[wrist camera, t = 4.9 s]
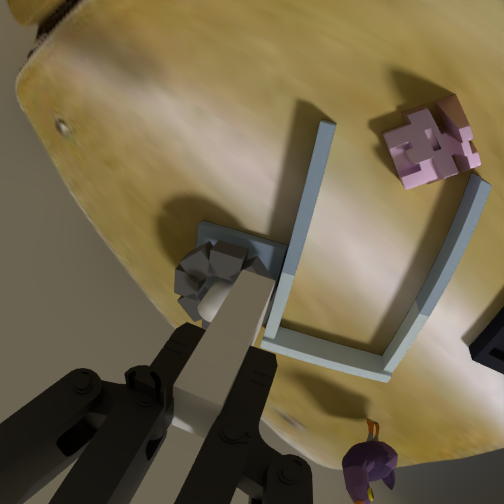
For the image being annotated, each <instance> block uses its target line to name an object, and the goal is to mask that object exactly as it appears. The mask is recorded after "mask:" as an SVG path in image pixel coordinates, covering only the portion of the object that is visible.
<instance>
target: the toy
mask: <svg viewBox="0 0 504 504" xmlns="http://www.w3.org/2000/svg"><path fill="white" fill-rule="evenodd" d="M366 422H367V424H368V427H369V435H368V438H367V441H366V442H363V443H358V444H356V445H354V446H353V447H351V448H350V449H349V451H348V452H347V453H346V455H345V456H344V457H343V460H342V467H343V473H344V479H345V484H346V489H347V491H348V493H349V495H350V498H351V499H352V501H353V502H354V504H369V503H370V502H371V501H372V500H373V498H374V497H373V493H372V489H371V488H370V487H369V481H376V480H379V479H381V478H382V480H383V481H384V483H385V484H386V485H387V486H388V487H389V488H390V489H391V490H392V489H393V487H394V484H395V474H394V469H395V467H396V465H397V459H398V454H397V453H396V451H395V450H394V449H393V448H392V447H390V446H389V445H387V444H386V443H384V442H380V441H378V434H379V425H377V424H375V426H376V435H375V437H374V439H373V427H374V424H373V423H372V422H370V421H369V420H367V421H366Z"/></svg>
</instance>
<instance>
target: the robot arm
mask: <svg viewBox="0 0 504 504" xmlns="http://www.w3.org/2000/svg"><path fill="white" fill-rule="evenodd" d="M274 284H275V280H272V279H269V278H266V277H263V276H260V275H257V274H255V273H252V272H249V271H246V270H242V271H241V273H240V275H239V276H238V278H237V280H236V281H235V283H234V285H233V287H232V288H231V290H230V292H229V293H228V295H227V297H226V298H225V300H224V302H223V303H222V305H221V307H220V308H219V310H218V312H217V313H216V315H215V317H214V318H213V320H212V322H211V323H210V325H209V327H208V328H207V330H205V329H203V328H200V327H198V326H195V325H193V324H190V323H188V322H186V323H185V324H183V325H181V326H180V327H178V328H176V330H175V331H174V333H173V334H172V335H171V337H170V338H169V340H168V341H167V342H166V344H165V345H164V347H163V348H162V349H161V351H160V352H159V354H158V355H157V357H156V358H155V359H154V361H153V362H152V364H151V365H150V366H147V365H139V366H135V367H132V368H130V369H129V370H128V371H127V372H125V379H126V384H117V383H112V382H108V381H103V380H101V379H100V377H99V376H98V375H97V373H95V372H94V371H92V370H90V369H86V368H80V369H75V370H73V371H71V372H70V373H68V374H67V375H65V376H64V377H63V378H61V379H60V380H59V381H57V382H56V383H55V384H53V385H52V386H50V387H49V388H48V389H46V390H45V391H44V392H42V393H41V394H40V395H38V396H37V397H36V398H34V399H33V400H32V401H30V402H29V403H27V404H26V405H25V406H23V407H22V408H21V409H20V410H18V411H17V412H15V413H14V414H13V415H11V416H10V417H9V418H7V419H6V420H5V421H3V422H2V423H1V424H0V504H23V503H24V502H25V501H27V500H28V499H29V498H30V497H32V496H33V495H34V494H35V493H37V492H38V491H39V490H40V489H41V488H43V487H44V486H45V485H46V484H48V483H49V482H50V481H51V480H53V479H54V478H55V477H56V476H57V475H58V474H60V473H61V472H62V471H63V470H64V469H66V468H67V467H68V466H69V465H70V464H71V463H73V462H74V461H75V460H76V459H77V458H78V460H77V462H76V463H75V464H74V466H73V467H72V469H71V470H70V472H69V473H68V475H67V476H66V478H65V479H64V481H63V482H62V484H61V485H60V487H59V488H58V490H57V491H56V493H55V494H54V496H53V497H52V499H51V500H50V502H49V504H129V503H130V501H131V499H132V498H133V496H134V494H135V493H136V491H137V489H138V487H139V485H140V484H141V482H142V480H143V478H144V476H145V475H146V473H147V471H148V469H149V467H150V465H151V464H152V462H153V460H154V458H155V456H156V455H157V453H158V451H159V449H160V447H161V446H162V444H163V442H164V440H165V438H166V435H167V429H168V427H169V425H170V423H171V422H172V420H173V425H175V426H177V427H179V428H182V429H184V430H186V431H188V432H191V433H194V434H196V435H198V436H201V437H203V438H206V439H205V441H204V443H203V445H202V447H201V449H200V451H199V454H198V455H197V458H196V460H195V462H194V464H193V466H192V468H191V470H190V472H189V474H188V476H187V478H186V480H185V483H184V484H183V486H182V488H181V491H180V493H179V495H178V497H177V499H176V501H175V503H174V504H230V502H231V500H232V497H233V495H234V492H235V490H236V487H237V488H239V489H240V490H242V491H243V492H245V493H246V494H247V495H249V504H313V486H312V472H311V468H310V466H309V465H308V464H307V462H306V461H305V460H304V459H302V458H300V457H299V456H296V455H291V454H287V455H282V454H280V453H279V452H277V451H276V450H274V449H273V448H271V447H270V446H268V445H267V444H266V443H265V442H264V440H263V439H262V438H261V435H260V433H259V427H258V426H259V421H260V418H261V415H262V412H263V409H264V406H265V403H266V400H267V397H268V394H269V391H270V388H271V385H272V382H273V379H274V376H275V373H276V370H277V360H276V355H275V354H273V353H270V352H267V351H264V350H262V349H259V348H256V347H253V345H254V342H255V340H256V338H257V335H258V333H259V330H260V328H261V325H262V322H263V319H264V316H265V313H266V310H267V307H268V303H269V300H270V297H271V294H272V291H273V288H274Z"/></svg>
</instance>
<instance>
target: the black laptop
mask: <svg viewBox="0 0 504 504" xmlns="http://www.w3.org/2000/svg"><path fill="white" fill-rule="evenodd" d="M468 348H469V351H470V354H471V358H472V360H473V361H475V362H478V363H480V364H482V365H484V366H487V367H489V368H491V369H493V370H495V371H498V372H500V373H502V374H504V307H503V308H502V309H501V310H500V312H499V313H498V314H497V315H496V317H495V318H494V319H493V320H492V321H491V323H490V324H489V325H488V326H487V327H486V328H485V329H484V331H483V332H482V333H481V334H480V335H479V336H478V337H477V338H476V340H475V341H474V342H473V343H472V344H471V345H470V346H469V347H468Z"/></svg>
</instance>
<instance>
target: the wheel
mask: <svg viewBox="0 0 504 504" xmlns="http://www.w3.org/2000/svg"><path fill="white" fill-rule="evenodd" d="M248 252H249V249H248V248H244V247H241V246H238V245H235V244H231V243H228V242H225V241H221V240H218V242H217V243H216V244H215V245H214V246H213V244H212V243H211V242H210V241H208V242H206V243H205V244H203V245H201V246H199V247H198V248H196V249H194V250H192V251H191V252H189V253H188V254H187V255H186V256H185V257H184V258H183V259H182V260H181V261H180V262H179V263H180V265H179V266H178V267H177V268H176V269H175V285H174V293H176V294H179V295H181V296H180V298H179V299H178V300H177V301H178V302H179V304H180V305H181V306H182V307H183V309H184V310H185V311H186V312H187V314H188V315H189V316H190V317H191V319H192V320H193V321H194V322H195V321H198V320H201V319H203V318H202V317H201V316H200V314H199V312H198V305H199V304H200V302H201V301H202V299H203V298H204V296H205V295H206V294H207V292H208V291H209V290H208V289H207V288H206V286H205V283H206V278H207V277H210V276H212V275H215V276H218V277H221V278H224V279H227V280H230V281H233V283H235V281H236V280H237V278H238V276H239V275H240V273H241V271H242V270H246V271H249V272H252V273H255V274H257V275H260V276H263V277H266V278H269V279H272V280H274V279H273V277H272V276H271V274H270V273H269V271H268V270H267V268H266V267H265V265H264V264H263V262H262V261H261V259H260V258H259V256H258V255H257V256H255V257H253V258H251V259H249V260H247V257H248ZM275 292H276V289H275V288H273V291H272V294H271V297H270V300H269V303H268V307H267V310H266V313H265V316H264V319H263V322H262V324H265V323H266V320H267V318H268V315H269V313H270V310H271V306H272V303H273V299H274V296H275ZM210 323H211V322H208V321H206V320H205V319H203V320H202V328H205V329H207V328H208V327H209V325H210Z"/></svg>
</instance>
